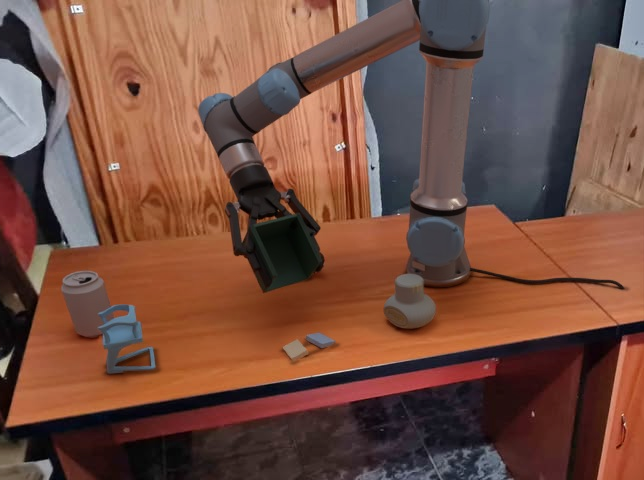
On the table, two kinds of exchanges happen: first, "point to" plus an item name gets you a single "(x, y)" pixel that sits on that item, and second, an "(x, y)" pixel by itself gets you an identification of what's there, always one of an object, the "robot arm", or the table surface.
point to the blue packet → (320, 340)
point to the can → (86, 301)
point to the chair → (122, 338)
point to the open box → (284, 251)
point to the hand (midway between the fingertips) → (295, 276)
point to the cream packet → (295, 350)
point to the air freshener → (409, 303)
